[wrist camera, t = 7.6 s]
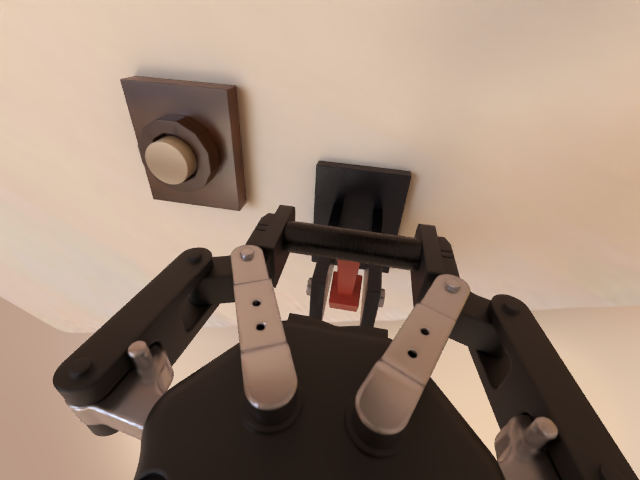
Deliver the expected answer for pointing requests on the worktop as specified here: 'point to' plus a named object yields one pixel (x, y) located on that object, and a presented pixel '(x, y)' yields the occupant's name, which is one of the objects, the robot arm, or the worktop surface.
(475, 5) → the worktop surface
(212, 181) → the button block
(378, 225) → the bracket
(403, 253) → the lever
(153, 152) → the button
